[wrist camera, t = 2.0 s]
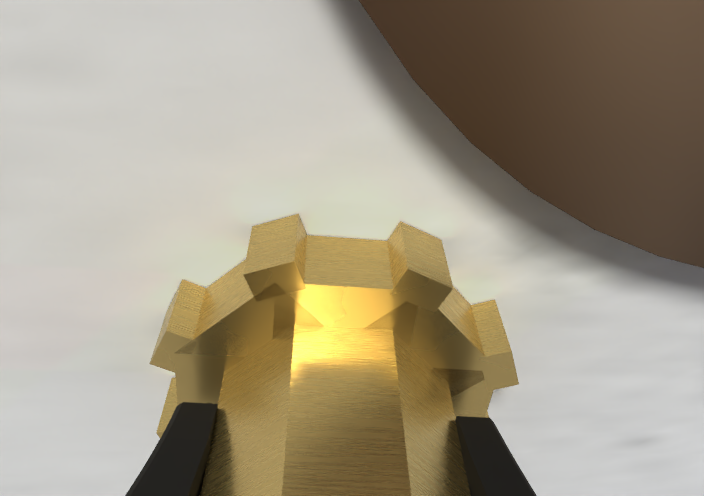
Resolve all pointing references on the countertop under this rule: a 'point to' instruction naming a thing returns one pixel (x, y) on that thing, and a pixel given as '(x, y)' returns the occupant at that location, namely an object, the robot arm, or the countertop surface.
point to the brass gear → (334, 365)
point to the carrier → (574, 103)
